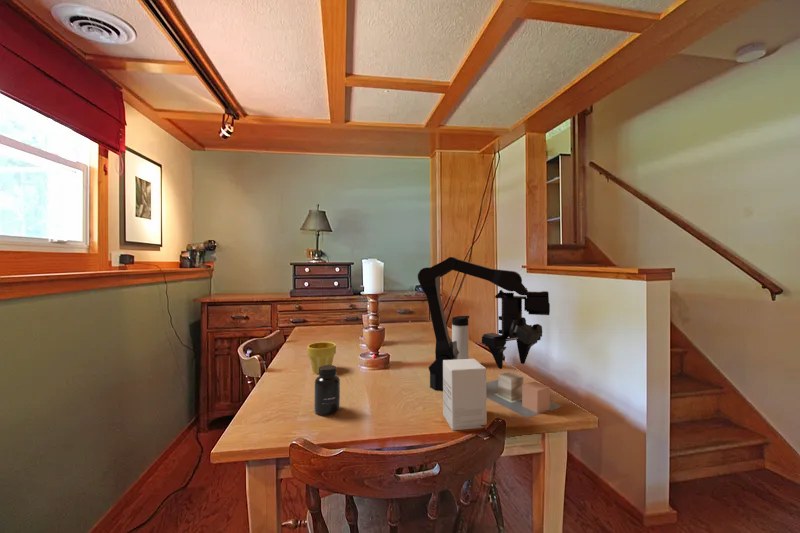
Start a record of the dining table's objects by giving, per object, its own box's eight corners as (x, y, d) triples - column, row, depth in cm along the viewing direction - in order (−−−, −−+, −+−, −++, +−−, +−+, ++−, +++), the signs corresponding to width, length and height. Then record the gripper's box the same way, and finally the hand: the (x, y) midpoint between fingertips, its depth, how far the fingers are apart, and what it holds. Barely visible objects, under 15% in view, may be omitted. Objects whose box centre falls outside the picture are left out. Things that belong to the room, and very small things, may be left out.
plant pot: (332, 375, 122) (332, 348, 122) (304, 375, 122) (304, 348, 122) (338, 366, 132) (338, 341, 132) (311, 366, 132) (311, 341, 132)
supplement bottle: (327, 418, 89) (327, 372, 89) (309, 412, 92) (308, 368, 92) (345, 408, 95) (344, 366, 94) (327, 403, 98) (326, 362, 98)
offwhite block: (511, 400, 97) (511, 379, 97) (498, 394, 102) (498, 374, 102) (523, 397, 100) (523, 376, 100) (510, 391, 104) (510, 372, 104)
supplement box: (474, 412, 92) (474, 357, 92) (487, 428, 83) (487, 368, 83) (442, 414, 91) (442, 359, 91) (451, 431, 82) (451, 369, 82)
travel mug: (470, 370, 128) (470, 317, 127) (453, 370, 128) (453, 317, 127) (467, 365, 134) (467, 314, 134) (450, 365, 134) (451, 314, 134)
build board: (526, 421, 87) (526, 417, 87) (466, 390, 108) (466, 386, 108) (562, 410, 94) (562, 406, 94) (498, 382, 115) (498, 379, 115)
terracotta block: (537, 413, 89) (537, 390, 89) (522, 406, 94) (522, 384, 94) (549, 409, 92) (550, 387, 92) (534, 402, 96) (534, 381, 96)
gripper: (509, 320, 89) (509, 379, 89) (556, 314, 98) (556, 368, 98) (480, 314, 99) (480, 368, 99) (525, 310, 107) (525, 359, 108)
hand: (511, 366), depth 101 cm, fingers open, 9 cm apart
